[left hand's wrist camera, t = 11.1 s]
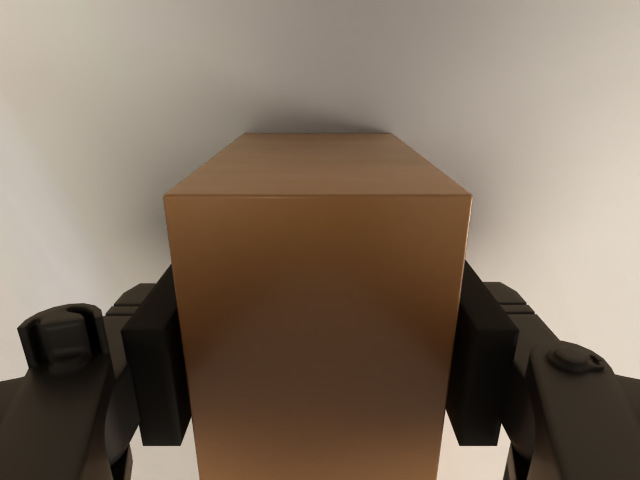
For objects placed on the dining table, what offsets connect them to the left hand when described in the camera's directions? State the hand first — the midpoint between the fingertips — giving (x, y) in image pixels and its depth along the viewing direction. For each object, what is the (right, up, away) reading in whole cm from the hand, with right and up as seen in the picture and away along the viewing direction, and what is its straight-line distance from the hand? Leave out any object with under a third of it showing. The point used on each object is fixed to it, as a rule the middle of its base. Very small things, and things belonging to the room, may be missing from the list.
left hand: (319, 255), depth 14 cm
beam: (0, -27, +12) cm, 29 cm away
